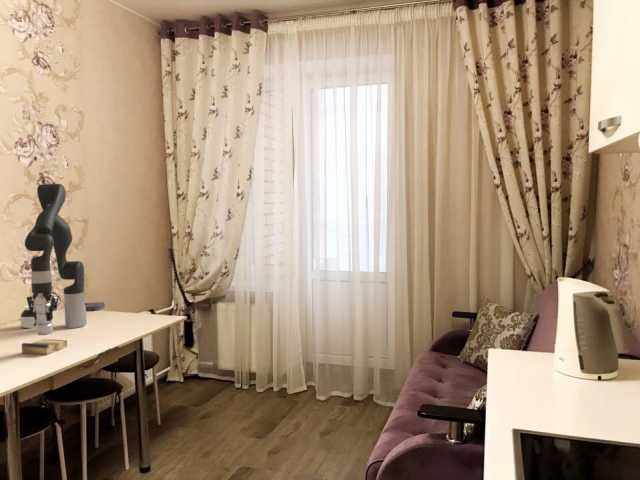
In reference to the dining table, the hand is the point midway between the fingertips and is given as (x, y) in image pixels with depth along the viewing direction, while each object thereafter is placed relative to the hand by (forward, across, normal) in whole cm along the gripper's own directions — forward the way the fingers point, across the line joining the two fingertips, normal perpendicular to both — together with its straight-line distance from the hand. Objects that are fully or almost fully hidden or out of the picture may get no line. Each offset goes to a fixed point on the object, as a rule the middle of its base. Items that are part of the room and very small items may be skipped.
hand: (43, 320), depth 213 cm
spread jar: (+13, +37, -35) cm, 52 cm away
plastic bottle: (+7, 0, 0) cm, 7 cm away
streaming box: (+13, +33, -74) cm, 83 cm away
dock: (+13, 0, 0) cm, 13 cm away
